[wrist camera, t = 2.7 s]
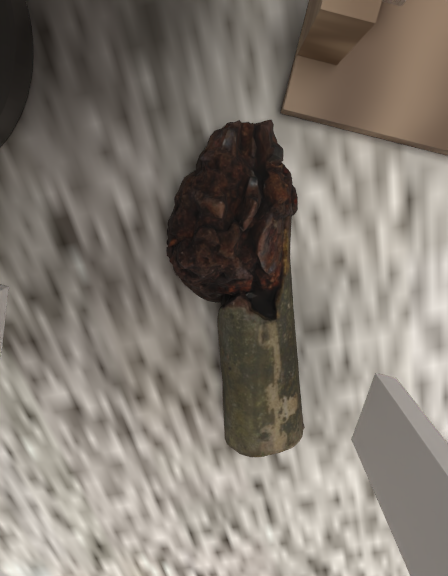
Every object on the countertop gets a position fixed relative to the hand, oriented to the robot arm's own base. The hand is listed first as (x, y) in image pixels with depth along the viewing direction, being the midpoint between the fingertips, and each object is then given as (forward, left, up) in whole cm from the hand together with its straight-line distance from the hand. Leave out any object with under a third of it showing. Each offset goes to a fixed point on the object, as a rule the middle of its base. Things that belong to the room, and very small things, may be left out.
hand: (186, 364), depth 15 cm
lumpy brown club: (+2, +1, -11) cm, 11 cm away
